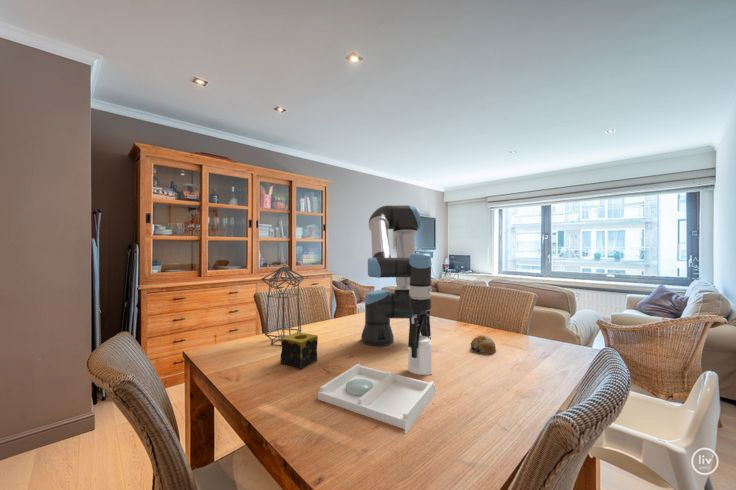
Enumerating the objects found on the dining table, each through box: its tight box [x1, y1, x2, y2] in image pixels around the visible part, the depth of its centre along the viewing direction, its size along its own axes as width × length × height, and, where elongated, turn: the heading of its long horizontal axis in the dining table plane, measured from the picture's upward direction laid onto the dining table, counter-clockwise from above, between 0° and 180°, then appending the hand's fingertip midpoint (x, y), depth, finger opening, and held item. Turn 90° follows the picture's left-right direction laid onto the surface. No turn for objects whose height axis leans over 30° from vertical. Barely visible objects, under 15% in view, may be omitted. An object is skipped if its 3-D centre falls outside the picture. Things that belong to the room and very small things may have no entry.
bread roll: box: [470, 334, 497, 355], centre depth 129 cm, size 10×10×8 cm
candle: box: [279, 331, 319, 370], centre depth 115 cm, size 10×10×10 cm
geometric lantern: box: [260, 266, 306, 347], centre depth 139 cm, size 16×16×35 cm
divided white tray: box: [317, 363, 436, 435], centre depth 88 cm, size 27×22×4 cm
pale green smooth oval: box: [346, 379, 373, 396], centre depth 92 cm, size 8×8×1 cm
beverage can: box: [407, 335, 433, 376], centre depth 106 cm, size 8×8×12 cm
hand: (420, 361), depth 106 cm, fingers closed on beverage can, 8 cm apart
